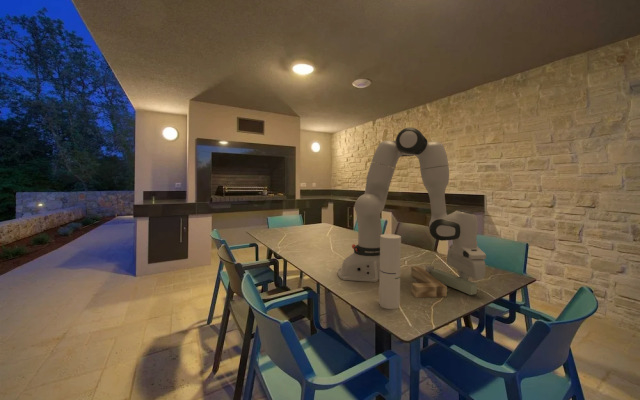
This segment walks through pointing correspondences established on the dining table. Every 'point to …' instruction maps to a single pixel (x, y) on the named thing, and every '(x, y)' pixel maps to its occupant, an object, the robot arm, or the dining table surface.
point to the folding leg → (453, 280)
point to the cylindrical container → (390, 271)
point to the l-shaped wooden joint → (426, 284)
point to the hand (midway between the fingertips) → (463, 281)
